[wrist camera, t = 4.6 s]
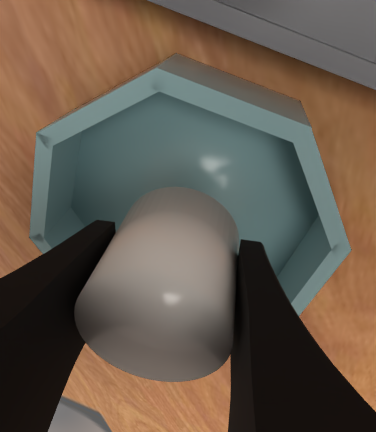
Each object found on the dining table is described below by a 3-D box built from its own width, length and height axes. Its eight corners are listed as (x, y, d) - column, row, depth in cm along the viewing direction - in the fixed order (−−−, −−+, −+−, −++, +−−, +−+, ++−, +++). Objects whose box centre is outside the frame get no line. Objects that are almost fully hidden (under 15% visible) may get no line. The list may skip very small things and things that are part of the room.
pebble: (247, 195, 10) (244, 287, 7) (231, 288, 13) (223, 392, 9) (121, 179, 11) (63, 259, 8) (127, 273, 13) (84, 367, 10)
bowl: (385, 133, 15) (417, 167, 12) (254, 322, 22) (254, 372, 19) (87, 17, 14) (43, 23, 11) (56, 251, 22) (25, 290, 19)
